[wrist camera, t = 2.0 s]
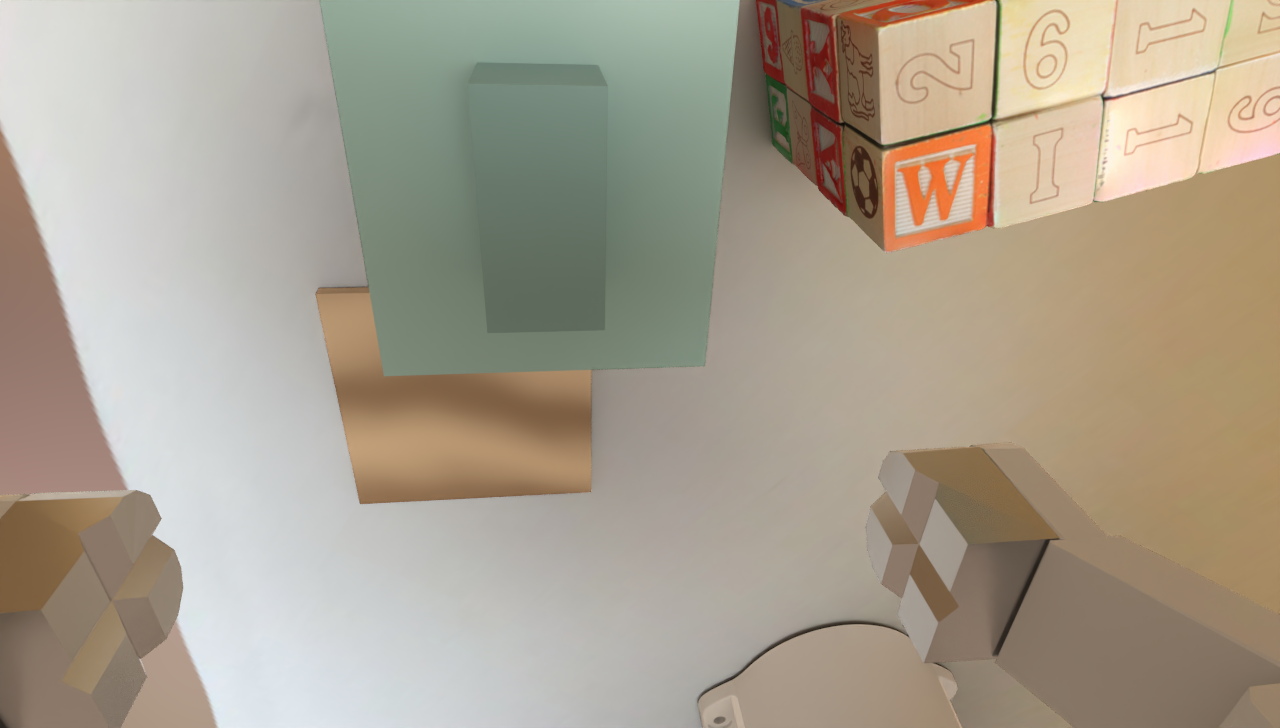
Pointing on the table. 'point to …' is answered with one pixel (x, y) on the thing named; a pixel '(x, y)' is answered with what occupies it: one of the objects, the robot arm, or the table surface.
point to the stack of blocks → (1013, 103)
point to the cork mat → (452, 421)
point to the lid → (535, 177)
